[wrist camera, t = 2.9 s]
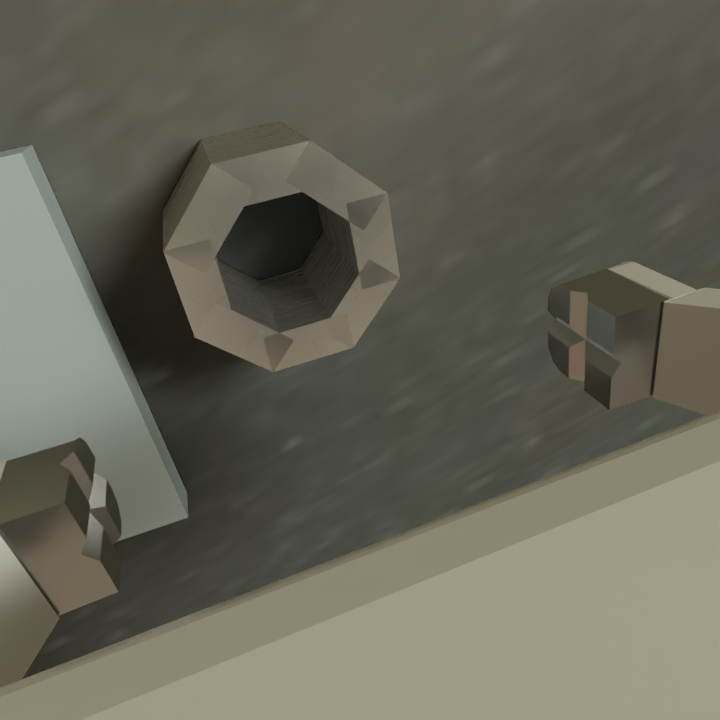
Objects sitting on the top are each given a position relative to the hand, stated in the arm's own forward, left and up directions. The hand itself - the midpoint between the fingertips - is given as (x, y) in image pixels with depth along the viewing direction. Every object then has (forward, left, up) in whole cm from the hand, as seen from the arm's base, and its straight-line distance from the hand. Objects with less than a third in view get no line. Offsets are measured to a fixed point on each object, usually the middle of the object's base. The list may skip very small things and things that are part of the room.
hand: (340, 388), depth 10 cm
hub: (0, 0, -12) cm, 12 cm away
